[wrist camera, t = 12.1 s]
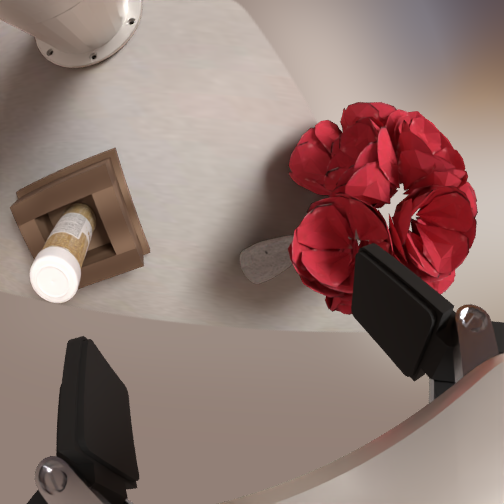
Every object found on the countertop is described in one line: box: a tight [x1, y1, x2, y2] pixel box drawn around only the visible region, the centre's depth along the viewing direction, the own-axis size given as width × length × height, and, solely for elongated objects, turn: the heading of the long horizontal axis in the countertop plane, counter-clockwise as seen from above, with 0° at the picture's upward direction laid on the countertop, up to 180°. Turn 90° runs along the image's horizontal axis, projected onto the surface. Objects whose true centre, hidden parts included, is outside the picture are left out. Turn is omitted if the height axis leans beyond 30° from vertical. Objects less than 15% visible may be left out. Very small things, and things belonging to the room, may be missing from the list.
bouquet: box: [240, 102, 478, 315], centre depth 33 cm, size 22×24×30 cm
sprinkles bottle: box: [30, 203, 96, 303], centre depth 25 cm, size 5×5×13 cm
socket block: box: [10, 148, 150, 289], centre depth 30 cm, size 14×14×5 cm
